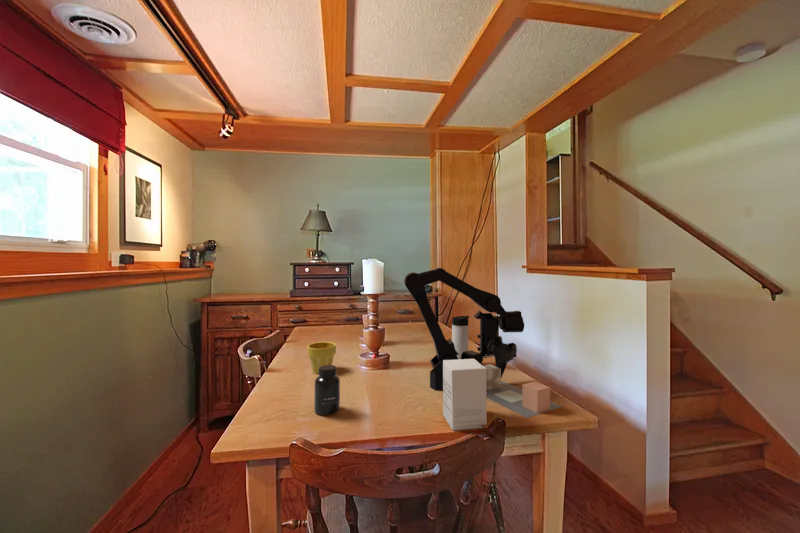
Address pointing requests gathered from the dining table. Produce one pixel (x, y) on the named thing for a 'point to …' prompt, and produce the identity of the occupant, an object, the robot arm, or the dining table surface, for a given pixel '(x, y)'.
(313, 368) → the plant pot
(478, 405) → the supplement box
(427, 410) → the dining table surface
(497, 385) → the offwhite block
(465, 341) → the travel mug
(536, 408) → the terracotta block
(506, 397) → the build board
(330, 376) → the supplement bottle
